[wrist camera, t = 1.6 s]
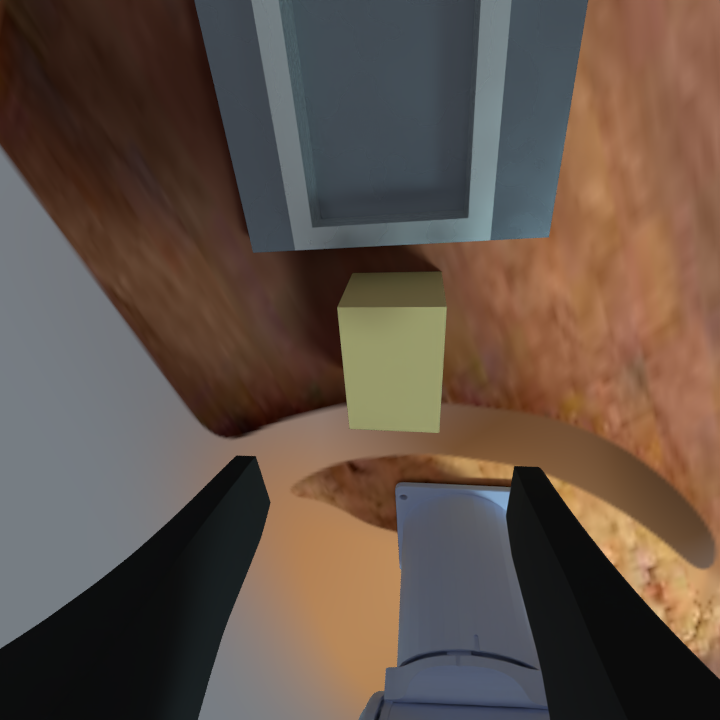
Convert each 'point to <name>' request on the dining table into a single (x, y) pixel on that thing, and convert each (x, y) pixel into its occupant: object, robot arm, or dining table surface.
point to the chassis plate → (393, 116)
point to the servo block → (393, 350)
